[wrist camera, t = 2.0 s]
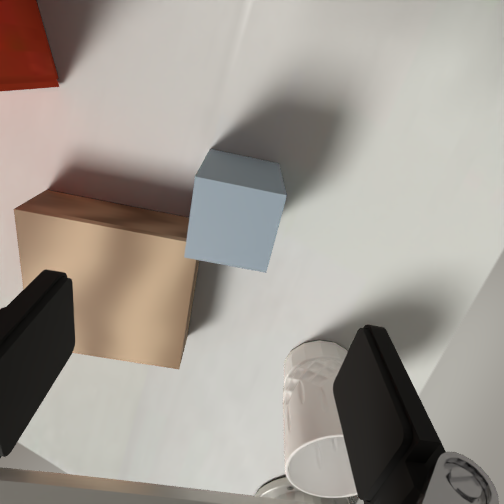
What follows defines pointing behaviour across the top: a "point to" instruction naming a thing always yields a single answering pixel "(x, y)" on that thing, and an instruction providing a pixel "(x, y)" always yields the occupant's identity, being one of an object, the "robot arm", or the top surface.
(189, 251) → the block
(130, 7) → the top surface
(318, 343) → the white cup
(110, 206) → the pedestal
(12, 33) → the file binder
